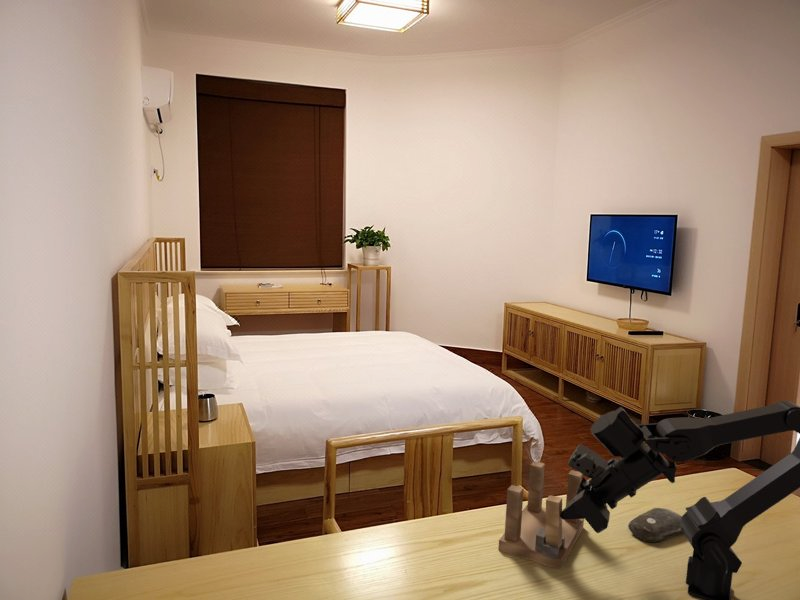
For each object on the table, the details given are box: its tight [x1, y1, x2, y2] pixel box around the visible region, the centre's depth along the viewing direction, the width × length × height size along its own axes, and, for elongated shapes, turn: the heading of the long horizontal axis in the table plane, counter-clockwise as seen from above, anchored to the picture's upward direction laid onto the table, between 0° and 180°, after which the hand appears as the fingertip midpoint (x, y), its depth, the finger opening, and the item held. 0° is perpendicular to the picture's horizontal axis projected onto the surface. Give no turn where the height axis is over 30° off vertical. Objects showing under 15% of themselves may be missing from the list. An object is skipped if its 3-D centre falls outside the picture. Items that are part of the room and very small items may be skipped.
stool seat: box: [497, 460, 585, 570], centre depth 119 cm, size 12×19×12 cm, turn 150°
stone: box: [627, 507, 684, 543], centre depth 124 cm, size 14×4×10 cm
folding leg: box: [545, 494, 563, 548], centre depth 111 cm, size 2×3×10 cm
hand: (561, 516), depth 110 cm, fingers closed, pressing on folding leg
